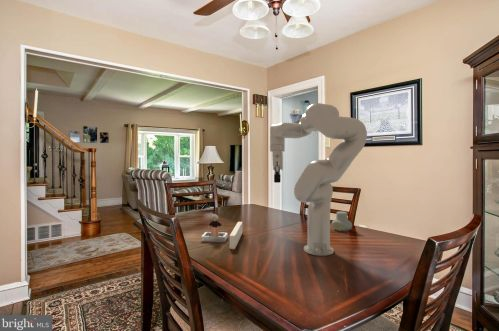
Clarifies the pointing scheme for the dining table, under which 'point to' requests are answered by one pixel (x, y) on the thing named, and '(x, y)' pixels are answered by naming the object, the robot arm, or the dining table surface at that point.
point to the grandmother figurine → (215, 225)
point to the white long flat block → (235, 235)
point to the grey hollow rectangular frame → (214, 237)
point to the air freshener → (341, 222)
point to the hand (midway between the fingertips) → (277, 181)
